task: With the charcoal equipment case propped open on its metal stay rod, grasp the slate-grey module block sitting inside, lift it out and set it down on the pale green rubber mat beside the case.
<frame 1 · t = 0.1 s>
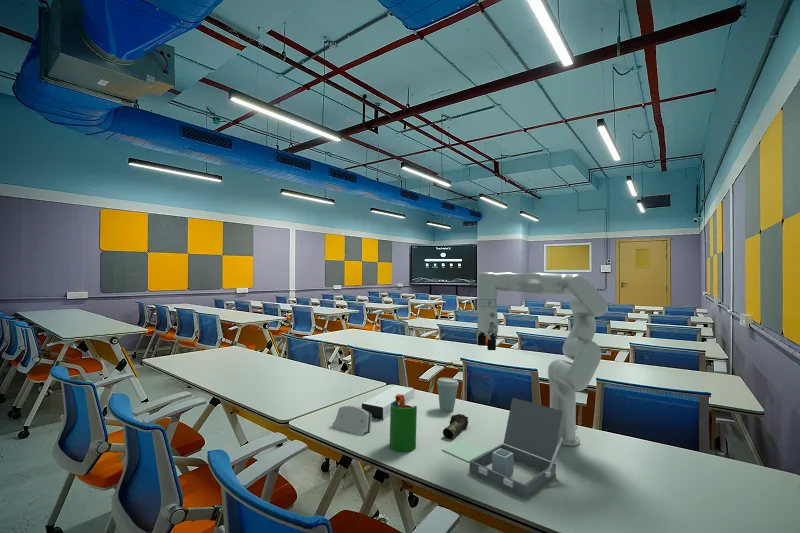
hand: (486, 347, 145), 37 cm above the table, tool pointing down, fingers open, 9 cm apart
mat: (464, 451, 138), on the table
case: (512, 473, 123), on the table
disposable coffee cup: (447, 410, 181), on the table
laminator: (388, 408, 184), on the table
module: (502, 471, 124), resting in case
motor: (402, 447, 141), on the table
lid: (532, 427, 132), point 11 cm above the table, hinge at 112.0°
hinge: (352, 429, 157), on the table
brown rough-headed cylinder: (455, 431, 156), on the table
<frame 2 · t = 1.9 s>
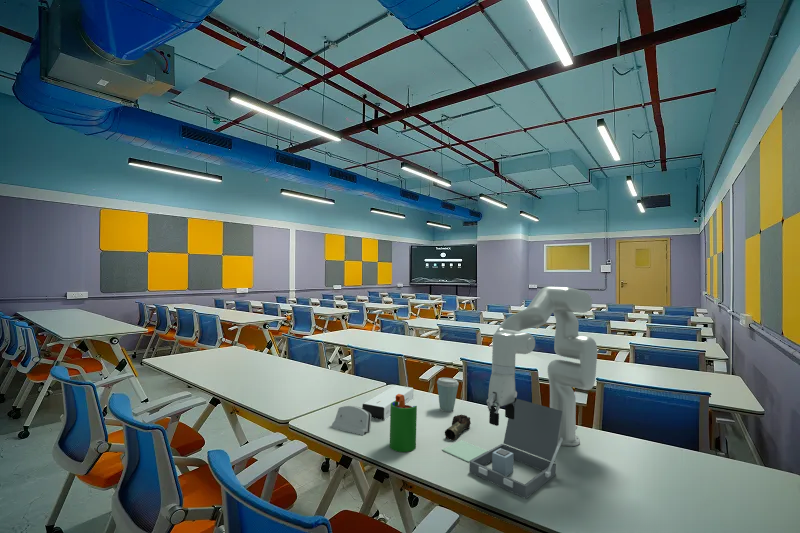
hand: (501, 421, 124), 17 cm above the table, tool pointing down, fingers open, 9 cm apart
brown rough-headed cylinder: (457, 432, 156), on the table
everything else where it was.
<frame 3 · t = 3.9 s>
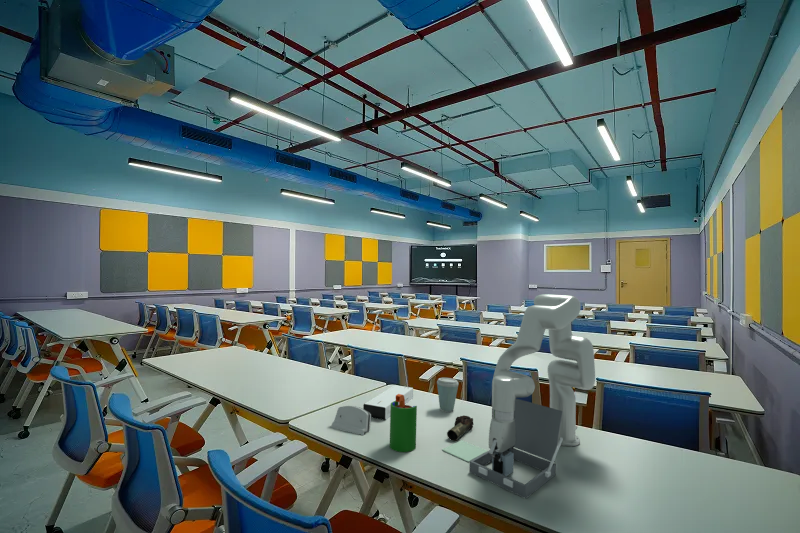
hand: (502, 468, 124), 1 cm above the table, tool pointing down, fingers closed on module, 5 cm apart
module: (502, 470, 124), resting in case, touching gripper
brown rough-headed cylinder: (460, 433, 155), on the table
everything else where it was.
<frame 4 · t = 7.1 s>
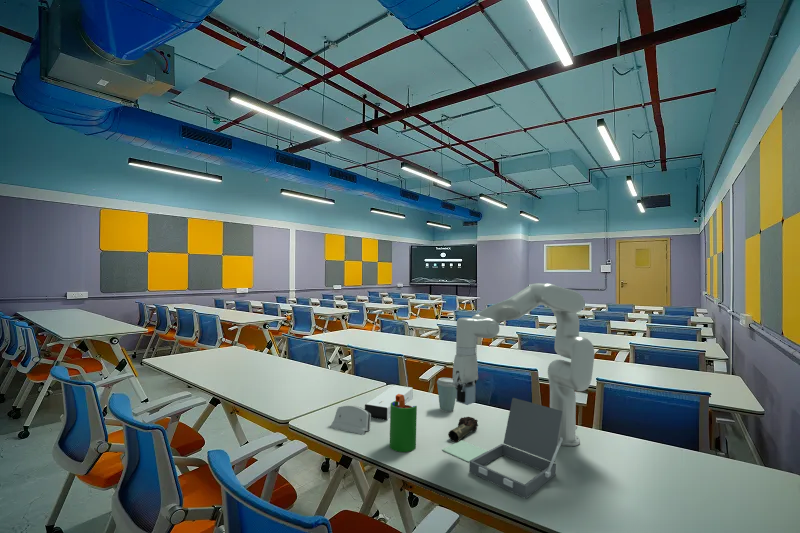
hand: (465, 399, 139), 19 cm above the table, tool pointing down, fingers closed on module, 5 cm apart
module: (465, 401, 139), point 18 cm above the table, touching gripper
brown rough-headed cylinder: (463, 434, 154), on the table
everything else where it was.
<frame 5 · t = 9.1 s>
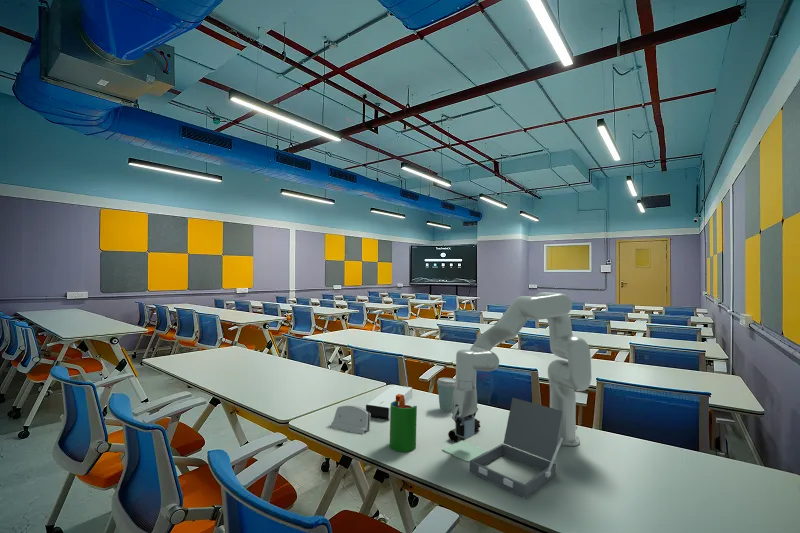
hand: (464, 432, 138), 7 cm above the table, tool pointing down, fingers closed on module, 5 cm apart
module: (464, 434, 138), point 6 cm above the table, touching gripper
when the fingers open (2 cm above the table, at t = 10.5 s): module drops 1 cm, resting on mat.
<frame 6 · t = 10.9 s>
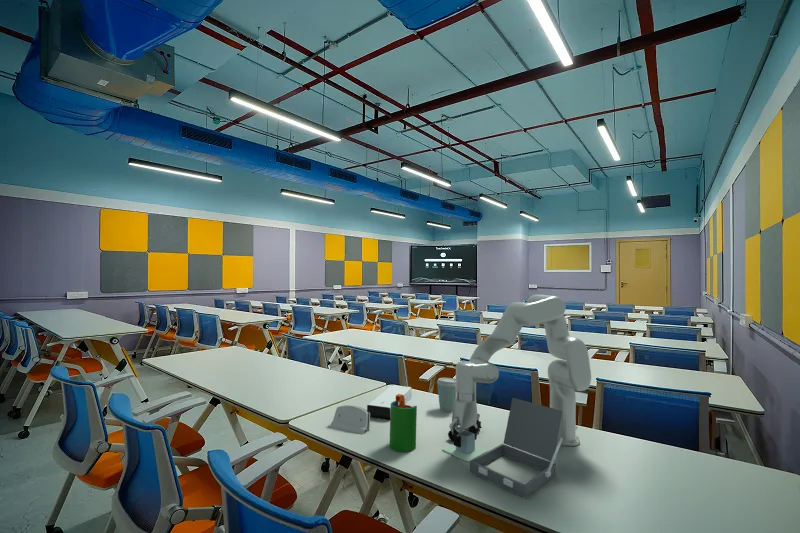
hand: (465, 442, 138), 3 cm above the table, tool pointing down, fingers open, 9 cm apart
module: (465, 450, 138), resting on mat
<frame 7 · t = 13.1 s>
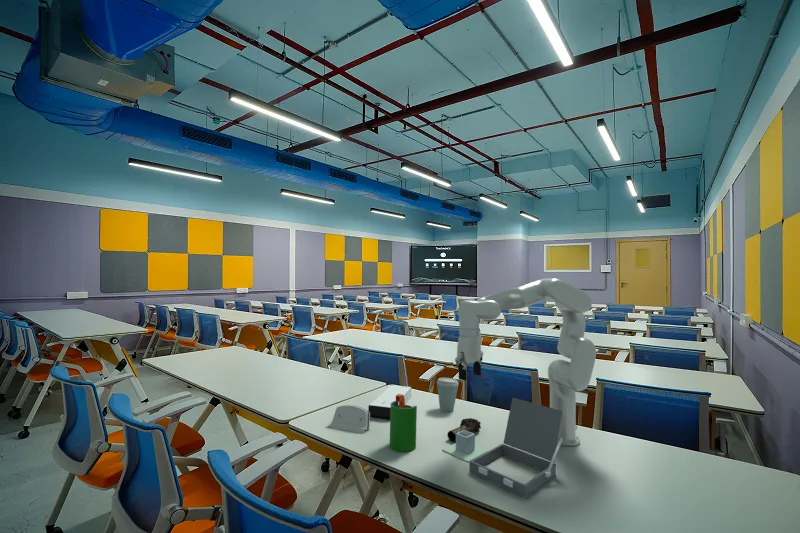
hand: (470, 377, 143), 26 cm above the table, tool pointing down, fingers open, 9 cm apart
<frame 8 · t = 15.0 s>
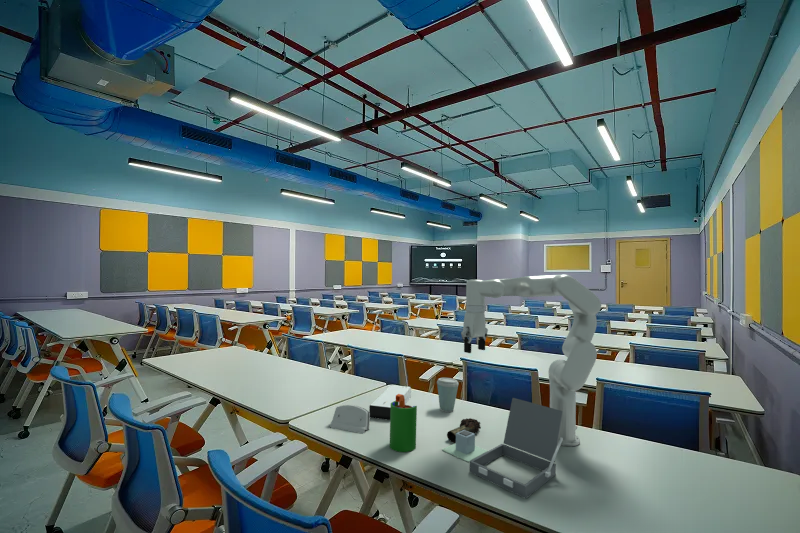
hand: (474, 351, 153), 34 cm above the table, tool pointing down, fingers open, 9 cm apart
at the end: module inside the target area on the mat (0.1 cm from its centre), point 0.4 cm above the mat's base; the gripper is holding nothing; lid at +112° (first picture: +112°) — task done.
